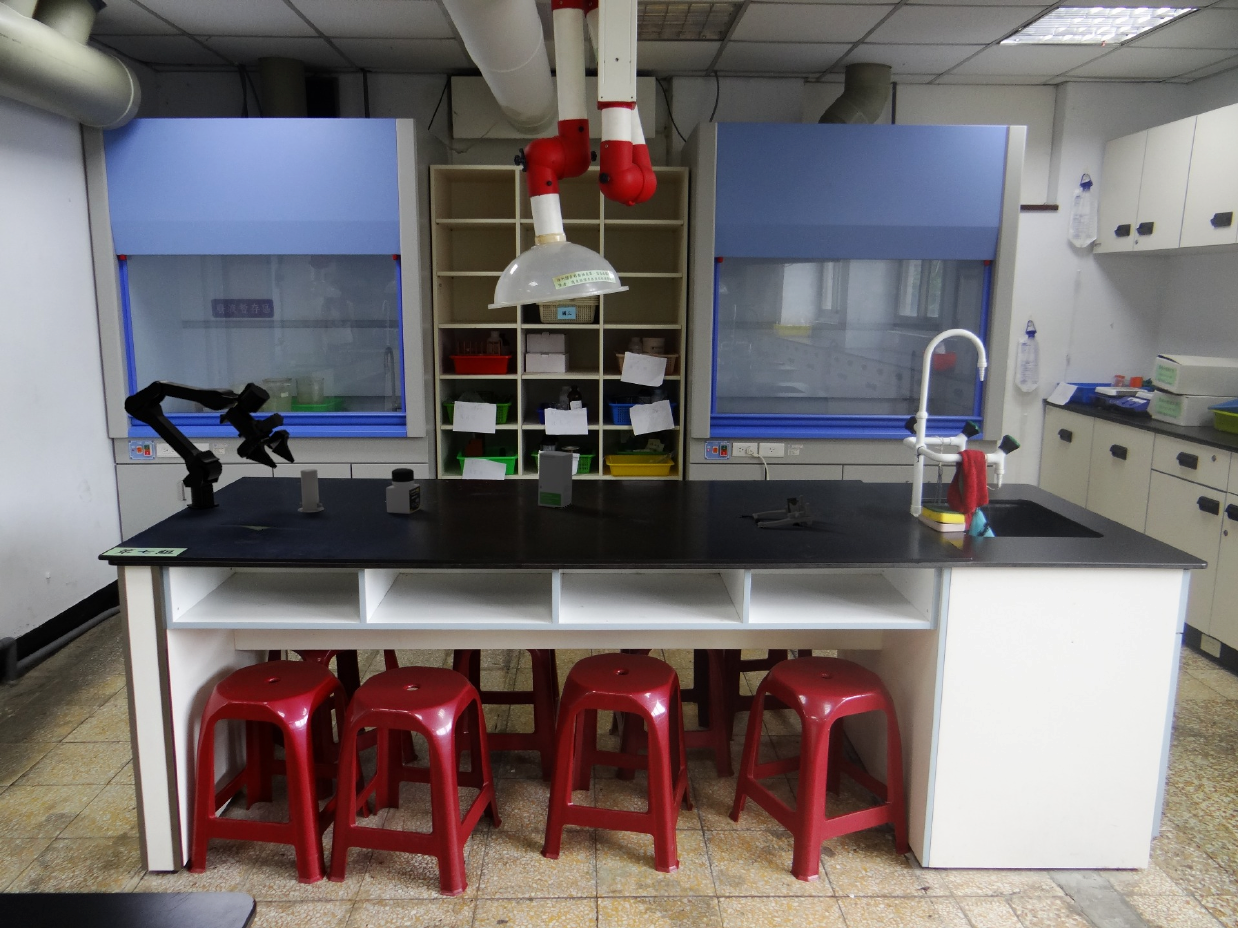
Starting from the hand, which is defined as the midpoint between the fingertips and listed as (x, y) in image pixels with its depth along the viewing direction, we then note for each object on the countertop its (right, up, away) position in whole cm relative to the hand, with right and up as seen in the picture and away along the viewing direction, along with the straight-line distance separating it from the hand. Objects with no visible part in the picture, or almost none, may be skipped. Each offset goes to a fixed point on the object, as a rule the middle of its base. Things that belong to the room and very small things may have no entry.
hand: (285, 464), depth 244 cm
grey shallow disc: (+7, -13, +1) cm, 15 cm away
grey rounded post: (+7, -12, +1) cm, 14 cm away
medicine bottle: (+32, -13, +3) cm, 35 cm away
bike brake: (+135, -16, -8) cm, 136 cm away
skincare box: (+75, -12, +12) cm, 77 cm away
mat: (-1, -15, -12) cm, 20 cm away
